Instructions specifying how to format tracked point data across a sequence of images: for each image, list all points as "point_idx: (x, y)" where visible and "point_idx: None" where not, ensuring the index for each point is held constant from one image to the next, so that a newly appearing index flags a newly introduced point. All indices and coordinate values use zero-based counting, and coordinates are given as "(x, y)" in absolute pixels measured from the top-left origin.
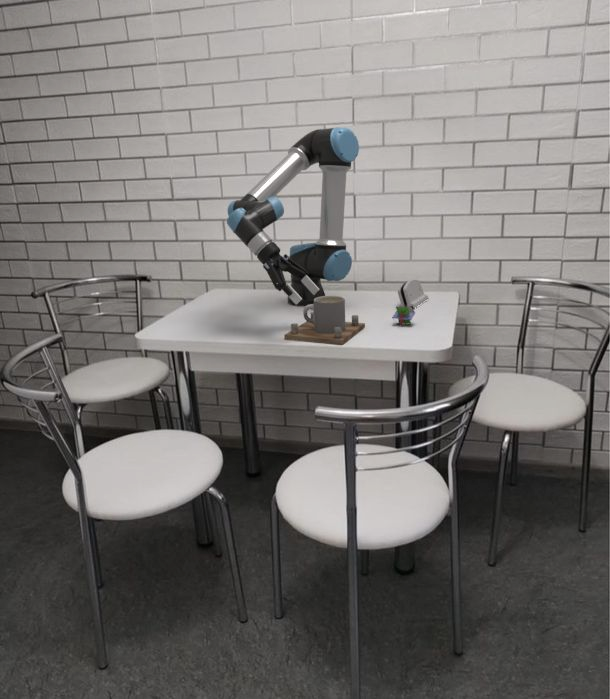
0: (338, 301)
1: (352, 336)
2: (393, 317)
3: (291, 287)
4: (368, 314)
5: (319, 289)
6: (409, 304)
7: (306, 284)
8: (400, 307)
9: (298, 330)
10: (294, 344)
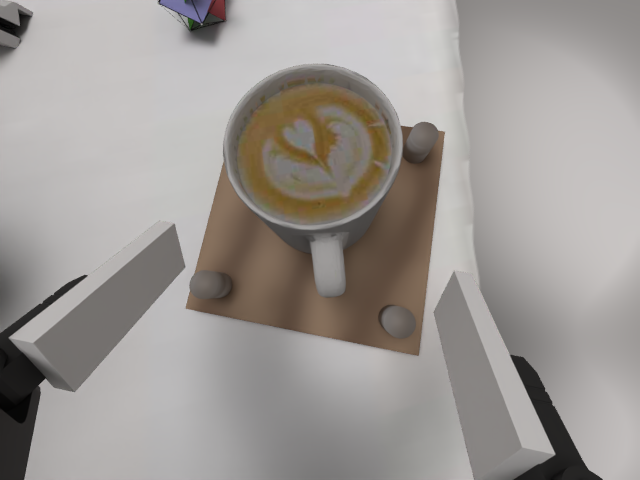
0: (291, 109)
1: None
2: (198, 19)
3: (505, 384)
4: (83, 132)
5: (160, 221)
6: (10, 13)
7: (120, 323)
8: None
9: (351, 313)
10: None
